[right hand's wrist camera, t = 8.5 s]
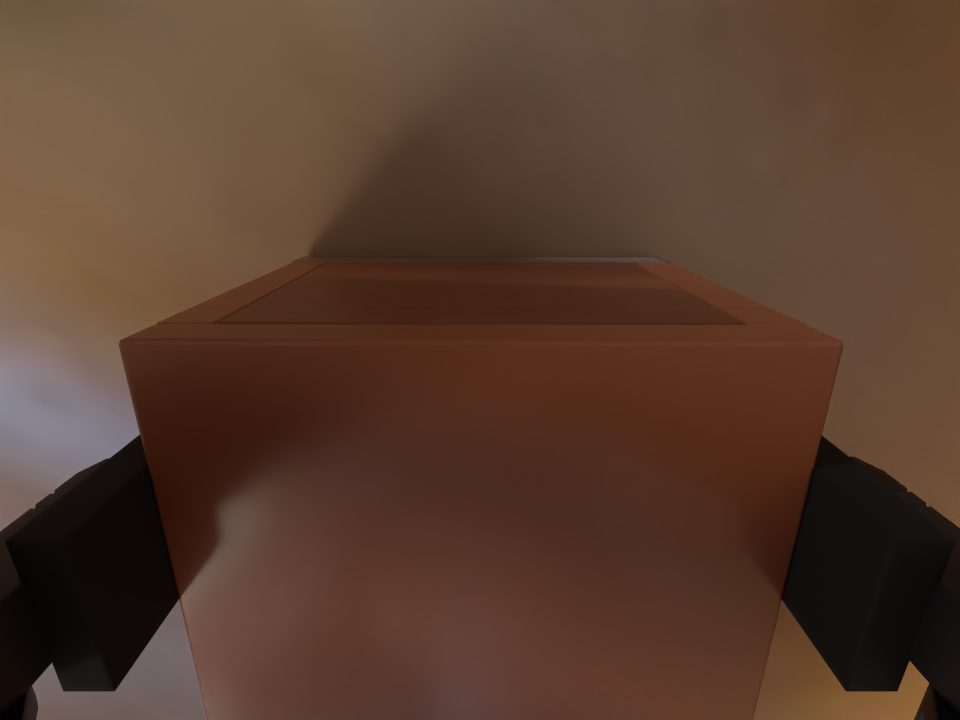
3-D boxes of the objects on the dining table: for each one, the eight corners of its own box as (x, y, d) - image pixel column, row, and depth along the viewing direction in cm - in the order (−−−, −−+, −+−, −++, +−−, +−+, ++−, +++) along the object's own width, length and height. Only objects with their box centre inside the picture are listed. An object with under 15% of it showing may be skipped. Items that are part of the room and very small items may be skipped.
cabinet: (605, 727, 22) (676, 1042, 14) (355, 726, 22) (282, 1041, 14) (657, 257, 16) (848, 340, 8) (304, 256, 16) (113, 339, 8)
